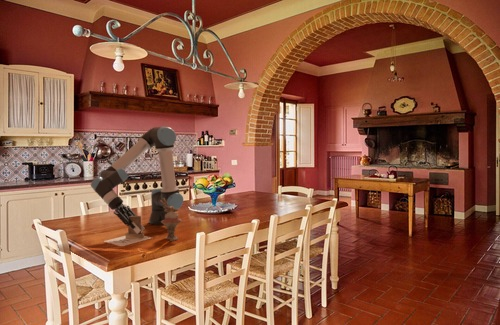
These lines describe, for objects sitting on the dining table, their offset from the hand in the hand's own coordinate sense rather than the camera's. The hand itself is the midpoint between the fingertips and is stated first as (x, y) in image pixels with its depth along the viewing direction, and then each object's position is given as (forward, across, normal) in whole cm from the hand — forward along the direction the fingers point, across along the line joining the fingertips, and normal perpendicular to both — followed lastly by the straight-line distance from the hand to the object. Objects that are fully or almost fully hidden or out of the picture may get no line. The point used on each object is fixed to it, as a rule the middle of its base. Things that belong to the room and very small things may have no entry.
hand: (141, 231), depth 193 cm
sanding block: (0, 0, -6) cm, 6 cm away
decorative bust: (+15, -6, +7) cm, 18 cm away
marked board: (0, +4, -8) cm, 8 cm away
